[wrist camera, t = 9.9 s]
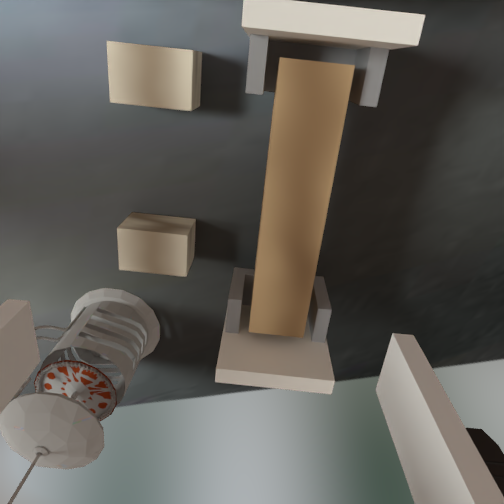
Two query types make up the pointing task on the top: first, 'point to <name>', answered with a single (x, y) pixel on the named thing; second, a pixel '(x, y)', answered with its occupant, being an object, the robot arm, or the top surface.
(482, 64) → the top surface
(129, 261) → the spacers
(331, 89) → the rail
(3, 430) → the french press
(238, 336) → the brackets
